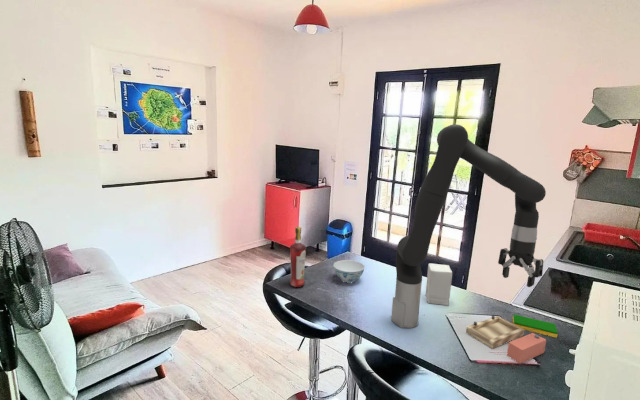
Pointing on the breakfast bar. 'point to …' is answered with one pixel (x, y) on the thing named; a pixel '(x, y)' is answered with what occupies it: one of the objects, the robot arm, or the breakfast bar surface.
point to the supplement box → (438, 284)
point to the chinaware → (348, 270)
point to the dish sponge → (535, 325)
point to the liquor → (297, 260)
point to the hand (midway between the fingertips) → (517, 281)
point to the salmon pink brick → (526, 347)
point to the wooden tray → (494, 331)
